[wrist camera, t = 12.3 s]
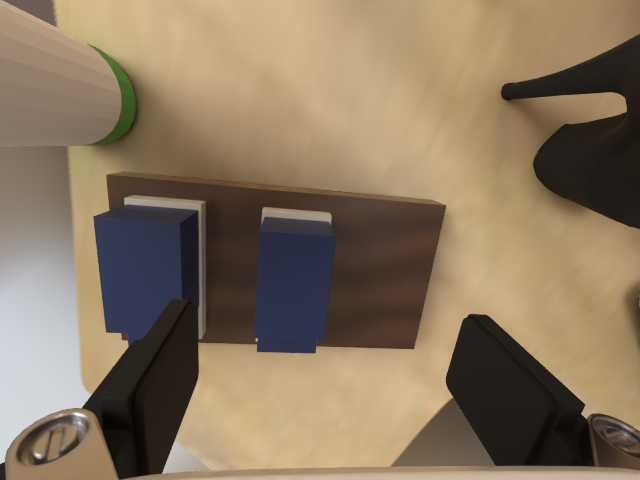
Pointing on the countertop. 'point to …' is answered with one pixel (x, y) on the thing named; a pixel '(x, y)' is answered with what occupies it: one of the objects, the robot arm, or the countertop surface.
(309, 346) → the blue pale-edged block
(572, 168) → the high-heeled shoe
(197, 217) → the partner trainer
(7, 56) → the wine bottle
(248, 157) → the countertop surface
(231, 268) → the dark brown flat board
